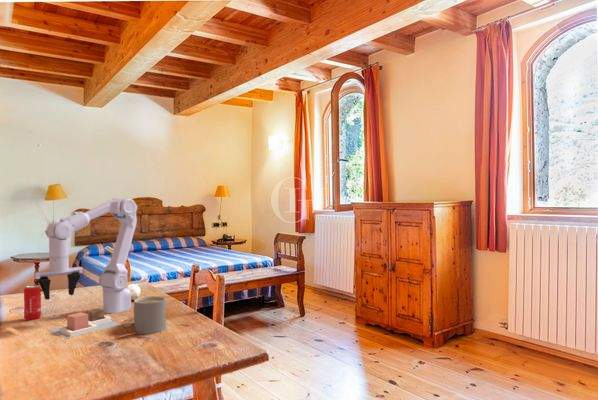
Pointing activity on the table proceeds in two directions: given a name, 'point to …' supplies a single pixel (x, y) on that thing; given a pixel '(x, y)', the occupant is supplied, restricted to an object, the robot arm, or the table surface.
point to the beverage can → (32, 302)
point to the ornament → (134, 291)
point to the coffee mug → (149, 314)
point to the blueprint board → (92, 327)
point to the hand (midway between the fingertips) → (59, 296)
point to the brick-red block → (77, 321)
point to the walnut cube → (95, 314)
